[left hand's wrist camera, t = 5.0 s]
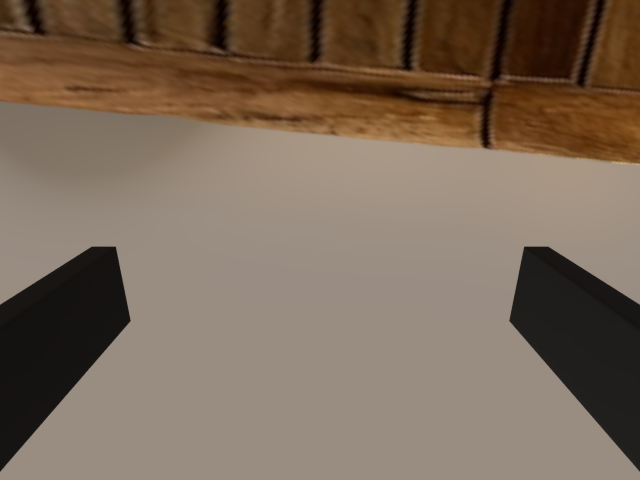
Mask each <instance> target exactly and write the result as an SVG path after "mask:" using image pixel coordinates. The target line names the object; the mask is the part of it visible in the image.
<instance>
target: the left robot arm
mask: <svg viewBox="0 0 640 480" xmlns="http://www.w3.org/2000/svg"><path fill="white" fill-rule="evenodd" d="M130 321H131V320H130V315H129V310H128V305H127V300H126V295H125V290H124V285H123V281H122V275H121V271H120V266H119V261H118V256H117V251H116V247H91V248H89V249H88V250H86V251H84V252H83V253H81V254H80V255H78V256H76V257H75V258H73V259H72V260H70V261H69V262H67V263H65V264H64V265H62V266H61V267H59V268H57V269H56V270H54V271H53V272H51V273H50V274H48V275H46V276H45V277H43V278H42V279H40V280H39V281H37V282H35V283H34V284H32V285H31V286H29V287H27V288H26V289H24V290H23V291H21V292H20V293H18V294H16V295H15V296H13V297H12V298H10V299H9V300H7V301H5V302H4V303H2V304H1V305H0V471H1V470H2V469H3V468H4V467H5V465H6V464H7V463H8V462H9V461H10V460H11V458H12V457H13V456H14V455H15V454H16V453H17V452H18V450H19V449H20V448H21V447H22V446H23V445H24V443H25V442H26V441H27V440H28V439H29V438H30V436H31V435H32V434H33V433H34V432H35V431H36V430H37V428H38V427H39V426H40V425H41V424H42V423H43V422H44V420H45V419H46V418H47V417H48V416H49V415H50V413H51V412H52V411H53V410H54V409H55V408H56V407H57V405H58V404H59V403H60V402H61V401H62V400H63V398H64V397H65V396H66V395H67V394H68V393H69V391H70V390H71V389H72V388H73V387H74V386H75V385H76V383H77V382H78V381H79V380H80V379H81V378H82V376H83V375H84V374H85V373H86V372H87V371H88V369H89V368H90V367H91V366H92V365H93V364H94V363H95V361H96V360H97V359H98V358H99V357H100V356H101V355H102V353H103V352H104V351H105V350H106V349H107V348H108V346H109V345H110V344H111V343H112V342H113V341H114V339H115V338H116V337H117V336H118V335H119V334H120V333H121V331H122V330H123V329H124V328H125V327H126V326H127V324H128V323H129V322H130ZM509 321H510V322H511V323H512V324H513V326H514V327H515V328H516V329H517V330H518V331H519V333H520V334H521V335H522V336H523V337H524V338H525V339H526V341H527V342H528V343H529V344H530V345H531V346H532V348H533V349H534V350H535V351H536V352H537V353H538V354H539V356H540V357H541V358H542V359H543V360H544V361H545V363H546V364H547V365H548V366H549V367H550V368H551V370H552V371H553V372H554V373H555V374H556V375H557V376H558V378H559V379H560V380H561V381H562V382H563V383H564V384H565V386H566V387H567V388H568V389H569V390H570V391H571V393H572V394H573V395H574V396H575V397H576V398H577V400H578V401H579V402H580V403H581V404H582V405H583V406H584V408H585V409H586V410H587V411H588V412H589V413H590V415H591V416H592V417H593V418H594V419H595V420H596V422H597V423H598V424H599V425H600V426H601V427H602V428H603V430H604V431H605V432H606V433H607V434H608V435H609V437H610V438H611V439H612V440H613V441H614V442H615V443H616V445H617V446H618V447H619V448H620V449H621V450H622V452H623V453H624V454H625V455H626V456H627V457H628V458H629V460H630V461H631V462H632V463H633V464H634V465H635V467H636V468H637V469H638V470H639V471H640V305H639V304H638V303H636V302H635V301H633V300H631V299H630V298H628V297H627V296H625V295H624V294H622V293H620V292H619V291H617V290H616V289H614V288H613V287H611V286H609V285H608V284H606V283H605V282H603V281H601V280H600V279H598V278H597V277H595V276H594V275H592V274H590V273H589V272H587V271H586V270H584V269H583V268H581V267H579V266H578V265H576V264H575V263H573V262H571V261H570V260H568V259H567V258H565V257H564V256H562V255H560V254H559V253H557V252H556V251H554V250H553V249H551V248H549V247H524V251H523V256H522V261H521V265H520V270H519V275H518V280H517V285H516V291H515V296H514V301H513V306H512V310H511V315H510V320H509Z"/></svg>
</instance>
